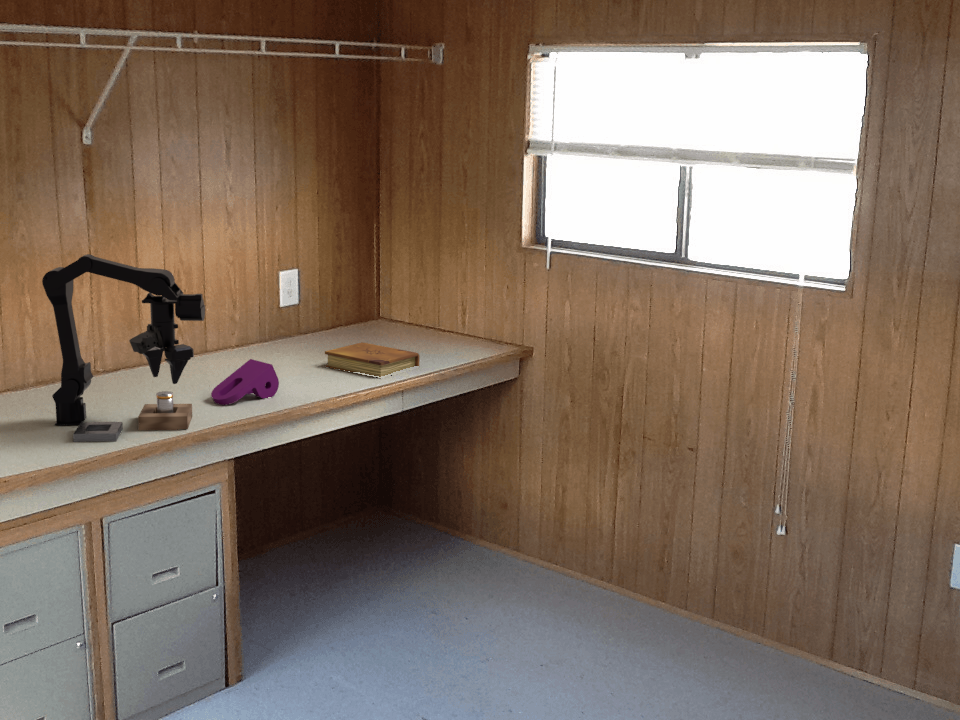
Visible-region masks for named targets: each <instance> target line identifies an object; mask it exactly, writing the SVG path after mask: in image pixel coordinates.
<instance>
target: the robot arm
mask: <svg viewBox="0 0 960 720" xmlns="http://www.w3.org/2000/svg"><path fill="white" fill-rule="evenodd" d="M86 273H89V274H93V275H94V274H95V275H97V276H102V277H105V278H109V279H114V280H116V281H121V282H124V283H129V284H133V285H135V286H136V287H139V288H140V289H141V290H143V291H145V292H148V293H147V294H146V296H145V297H144V299H142V300H141V303H142V304H149V306H150V307H149V308H150V323H148V324H147V326H146V331H144V332H140V333H139V334H136V336H134V337H132V338H130V339H129V343H130V347H131V348H132V351H133V353H138V354H139V355H143V356H144V357H145V358H146V360H147V363H148V366H149V369H150V371H151V374H152V377H153V378H158V376H159V374H160V369H161V365H162V360H163V359H162V358H163V353H164V356H165V358H164V361H165V362H167V363H168V364H169V370H170V377H171V378H170V379H171V381H172V384H173V385H175V384H178V382H179V380H180V378H181V376H182V374H183V372H184V369H185V367H186V366H187V364H188V362H189V361H190V360H191V359H192V358H194V353H195V352H194V349H193V348H192V346H190V345H188V344H187V345H186V344H184V343H183V344H182V343H181V344H180V341H179V339H176V334H175V333H176V330H175V329H179V324H178V323H176V322H175V317H176V318H177V319H179V320H180V321H185V322H188V321H189V322H190V321H191V322H192V321H193V322H199V321H200V322H204V321H205V317H206V305H205V300H204V298H203V297H204V296H203V293H194V294H193V293H192V294H191V293H189V294H188V293H187V294H186V293H184V292H183V290H182V289H181V288H180V287H179V286H178V284H177V283H176V281H175V277H174V274H173V273H172V272H171V271H170V270H168V269H165V268H164V269H162V268H152V267H151V268H147V267H146V268H144V267H143V268H142V267H137V266H132V265H130V264H129V265H128V264H124V263H122V262H121V263H120V262H118V261H113V260H109V259H105V258H103V257H102V258H101V257H97V256H96V255H93V254H88V253H87V254H85V255H84V254H83V255H82V256H80V257H79V258H77V260H75V261H73V262H72V263H70V264H68V265H67V266H62V267H61V266H59V267H55V268H54V269H50V270H49V271H47V272H46V273H45V274H44V276H42V280H41V281H42V287H43V289H44V292H45V295H46V297H47V299H48V300H49V301H50V302H49V303H51V306H52V308H53V311H54V312H53V313H54V317H55V318H54V319H55V323H56V329H57V334H58V340H59V346H60V350H61V351H60V353H61V356H62V367H61V371H60V385H61V386H60V387H59V388H58V389H57V390H56V391H55V392H54V393H53V394H52V399H53V401H54V405H55V418H56V419H55V420H56V421H55V422H54V425H55V426H79V425H80V423H81V422H84V421H86V419H87V407H86V406H87V404H86V403H85V402H84V397H83V395H84V393H85V392H86V390H87V389H88V388H89V387H90V385H91V384H92V379H93V378H94V375H93V373H92V365H91V362H85V360H84V359H83V358H82V355H81V349H80V343H79V338H78V331H77V327H76V321H75V315H74V309H73V303H72V301H73V295H74V280H75V279H77V278H79V277H80V276H83V275H84V274H86Z"/></svg>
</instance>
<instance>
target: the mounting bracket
mask: <svg viewBox="0 0 960 720" xmlns="http://www.w3.org/2000/svg"><path fill="white" fill-rule="evenodd" d="M279 386H280V381H279V378H278V374H277V373H276V370H275V368H274V366H273V364H272V363H268V362H263V361H259V360H255V359H252V358H250V359H249V360H247V361H246V362H244V363H243V364H242V365H240V367H238V368H237V369H235V370H234V372H232V373H231V374H229V376H227V377H226V378H225V379H223V380H222V381H221V382H220V383H219V384H217V385H216V386H215V387H214V388H213V389H212V390H211V393H210V396H211V398H212V400H213V402H214V404H215V405H218V406H219V405H220V406H229V405H231V404H234V403H237V402H238V401H239V400H241V399H242V398H243V397H245V395H251V394H253V395H254V396H255V397H257V398H260V399H264V398H267V399H269V398H268V397H271V398H273V397H274V396H275V395H276V393H278V390H279V388H280V387H279ZM272 396H273V397H272ZM264 400H265V399H264Z"/></svg>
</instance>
